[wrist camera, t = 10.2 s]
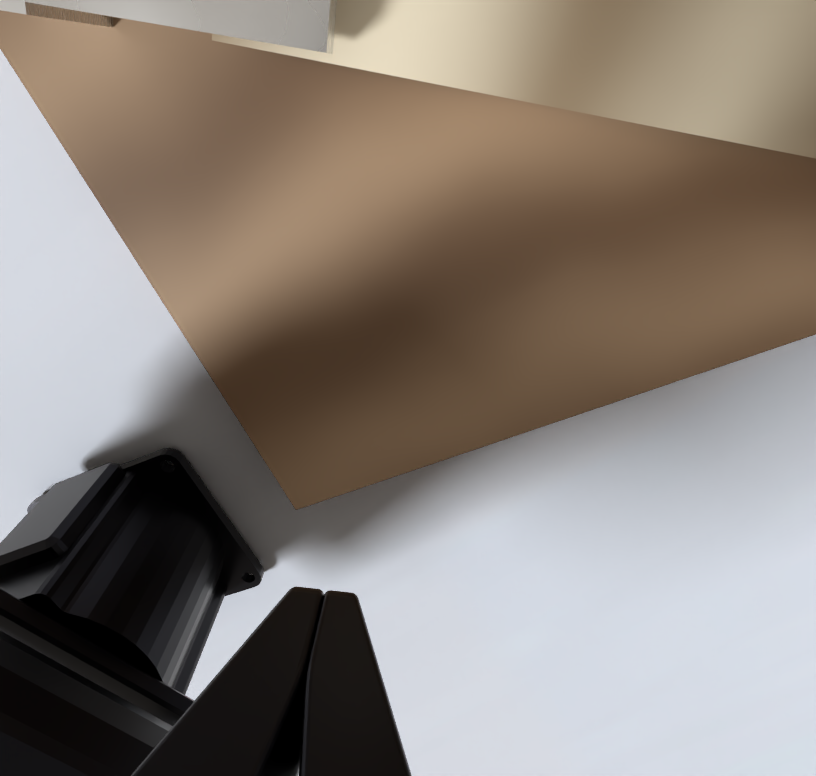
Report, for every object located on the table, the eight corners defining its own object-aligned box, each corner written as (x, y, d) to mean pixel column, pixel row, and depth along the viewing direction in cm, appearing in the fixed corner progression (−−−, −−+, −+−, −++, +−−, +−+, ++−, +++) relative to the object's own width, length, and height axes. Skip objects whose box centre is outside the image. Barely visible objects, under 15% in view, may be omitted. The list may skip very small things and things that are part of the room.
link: (1072, 23, 13) (1222, 11, 11) (964, 209, 15) (1069, 236, 13) (244, -151, 12) (197, -209, 10) (236, 68, 14) (194, 66, 12)
